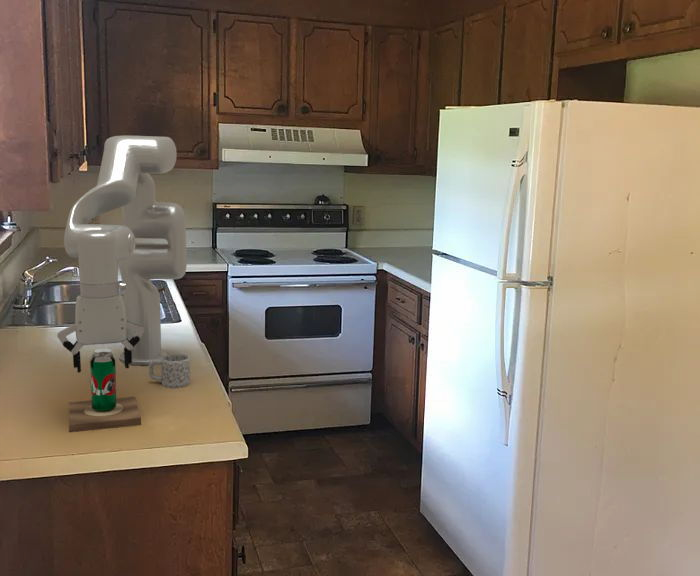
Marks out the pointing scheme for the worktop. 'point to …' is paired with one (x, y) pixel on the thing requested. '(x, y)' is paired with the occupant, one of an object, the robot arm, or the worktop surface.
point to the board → (103, 415)
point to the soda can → (103, 381)
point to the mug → (172, 370)
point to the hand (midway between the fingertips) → (103, 368)
